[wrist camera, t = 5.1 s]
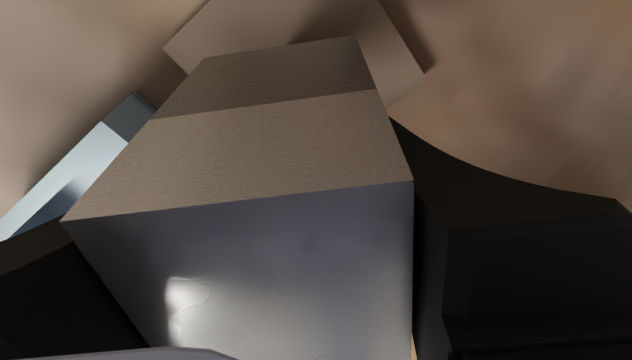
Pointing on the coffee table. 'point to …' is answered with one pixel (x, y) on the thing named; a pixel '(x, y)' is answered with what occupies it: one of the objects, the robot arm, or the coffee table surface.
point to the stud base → (300, 35)
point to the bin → (78, 168)
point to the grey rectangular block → (261, 212)
